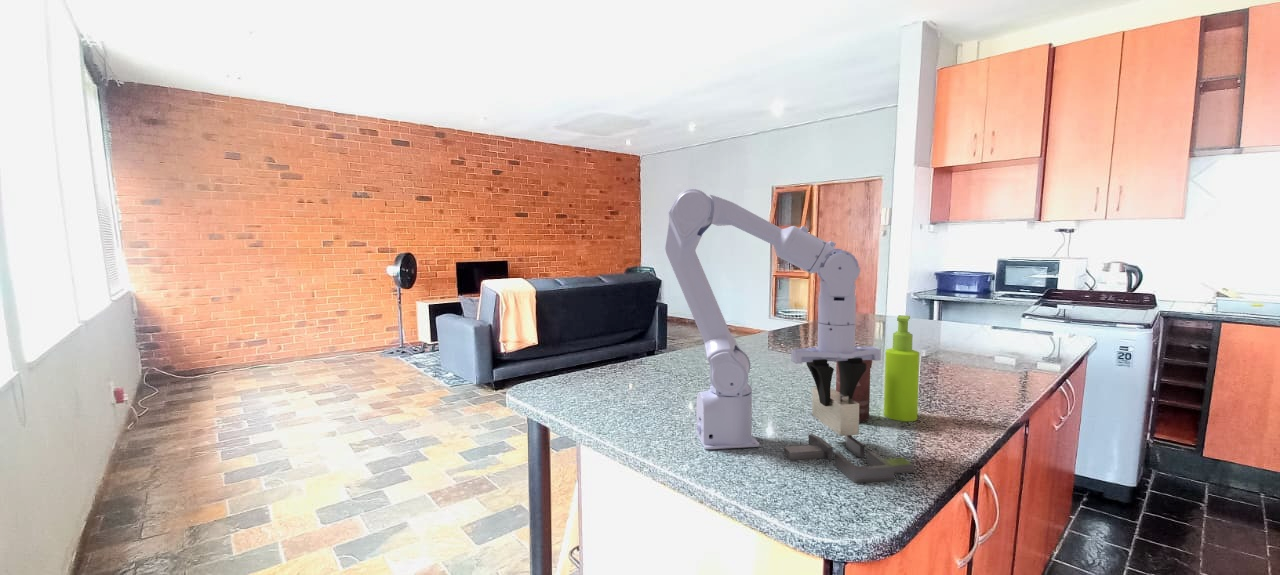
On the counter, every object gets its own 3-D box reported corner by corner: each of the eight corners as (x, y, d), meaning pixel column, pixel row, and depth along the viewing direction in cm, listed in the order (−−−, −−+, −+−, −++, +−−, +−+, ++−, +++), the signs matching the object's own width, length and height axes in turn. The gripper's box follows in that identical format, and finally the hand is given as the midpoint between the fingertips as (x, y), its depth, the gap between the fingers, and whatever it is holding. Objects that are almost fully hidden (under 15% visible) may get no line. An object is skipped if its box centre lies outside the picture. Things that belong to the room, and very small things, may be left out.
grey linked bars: (813, 485, 70) (814, 471, 70) (777, 447, 84) (777, 435, 84) (922, 478, 72) (922, 465, 72) (869, 442, 86) (869, 430, 85)
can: (874, 424, 94) (876, 351, 93) (838, 422, 96) (840, 350, 94) (866, 413, 100) (867, 345, 99) (833, 411, 101) (834, 344, 100)
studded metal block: (840, 435, 78) (841, 399, 77) (812, 415, 88) (812, 382, 87) (858, 434, 78) (859, 398, 78) (828, 414, 88) (828, 382, 87)
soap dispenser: (918, 413, 100) (921, 315, 99) (916, 423, 94) (919, 319, 93) (886, 408, 103) (888, 313, 102) (882, 418, 97) (884, 317, 96)
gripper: (804, 327, 77) (803, 413, 78) (893, 325, 78) (890, 409, 79) (786, 321, 84) (785, 400, 85) (868, 319, 85) (866, 396, 86)
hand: (835, 404), depth 82 cm, fingers closed on studded metal block, 3 cm apart
